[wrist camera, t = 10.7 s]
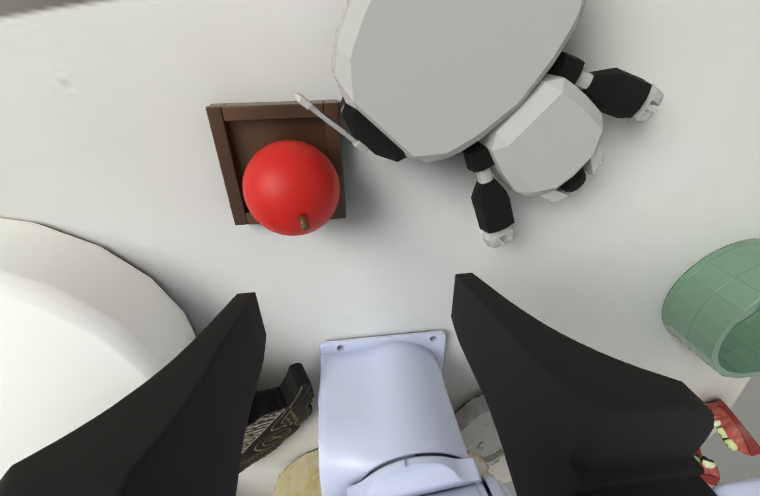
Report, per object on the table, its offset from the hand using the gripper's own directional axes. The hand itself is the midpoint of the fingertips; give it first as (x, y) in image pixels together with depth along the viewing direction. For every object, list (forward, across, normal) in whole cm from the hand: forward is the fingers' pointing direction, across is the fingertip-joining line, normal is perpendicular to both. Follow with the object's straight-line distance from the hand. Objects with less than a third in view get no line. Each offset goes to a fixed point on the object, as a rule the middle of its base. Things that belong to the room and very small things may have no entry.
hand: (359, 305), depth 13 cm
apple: (+9, +3, -3) cm, 10 cm away
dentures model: (+7, -36, +24) cm, 44 cm away
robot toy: (+10, -7, -6) cm, 13 cm away
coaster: (+9, +3, -3) cm, 10 cm away
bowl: (+9, -30, +10) cm, 33 cm away
